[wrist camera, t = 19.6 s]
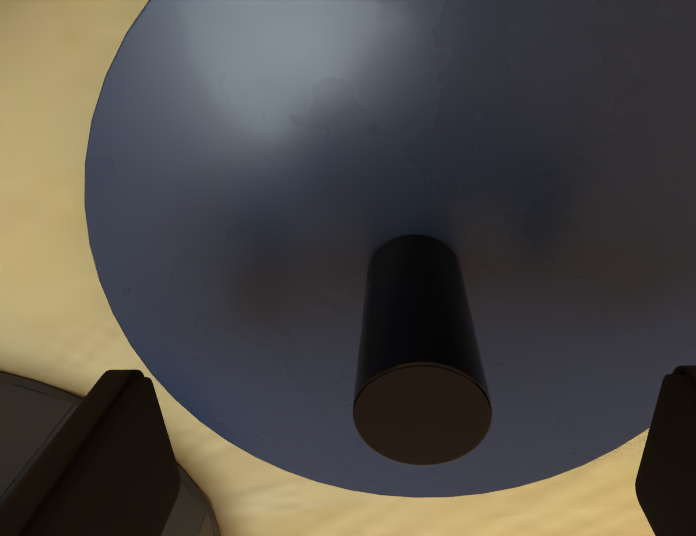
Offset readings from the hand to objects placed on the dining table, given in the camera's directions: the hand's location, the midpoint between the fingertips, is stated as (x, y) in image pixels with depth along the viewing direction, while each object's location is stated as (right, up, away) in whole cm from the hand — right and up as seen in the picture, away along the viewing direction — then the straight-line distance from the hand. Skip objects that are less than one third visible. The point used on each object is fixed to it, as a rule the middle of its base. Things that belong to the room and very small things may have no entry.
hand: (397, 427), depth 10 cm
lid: (+1, +3, +4) cm, 5 cm away
